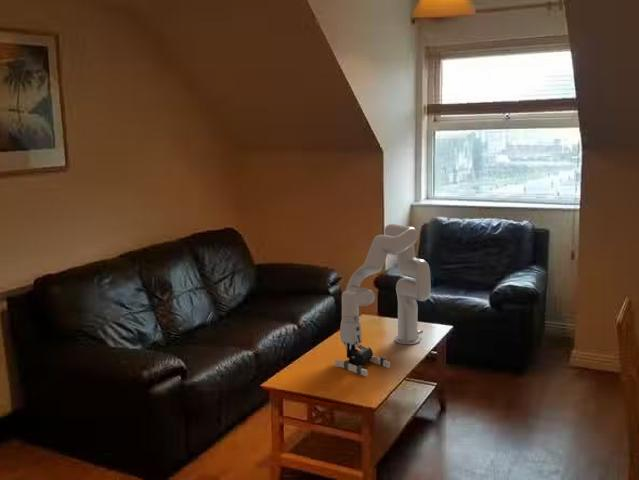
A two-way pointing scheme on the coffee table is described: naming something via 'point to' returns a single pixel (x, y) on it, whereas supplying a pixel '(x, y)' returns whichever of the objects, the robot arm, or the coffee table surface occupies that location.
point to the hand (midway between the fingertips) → (350, 357)
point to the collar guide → (358, 368)
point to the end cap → (360, 355)
